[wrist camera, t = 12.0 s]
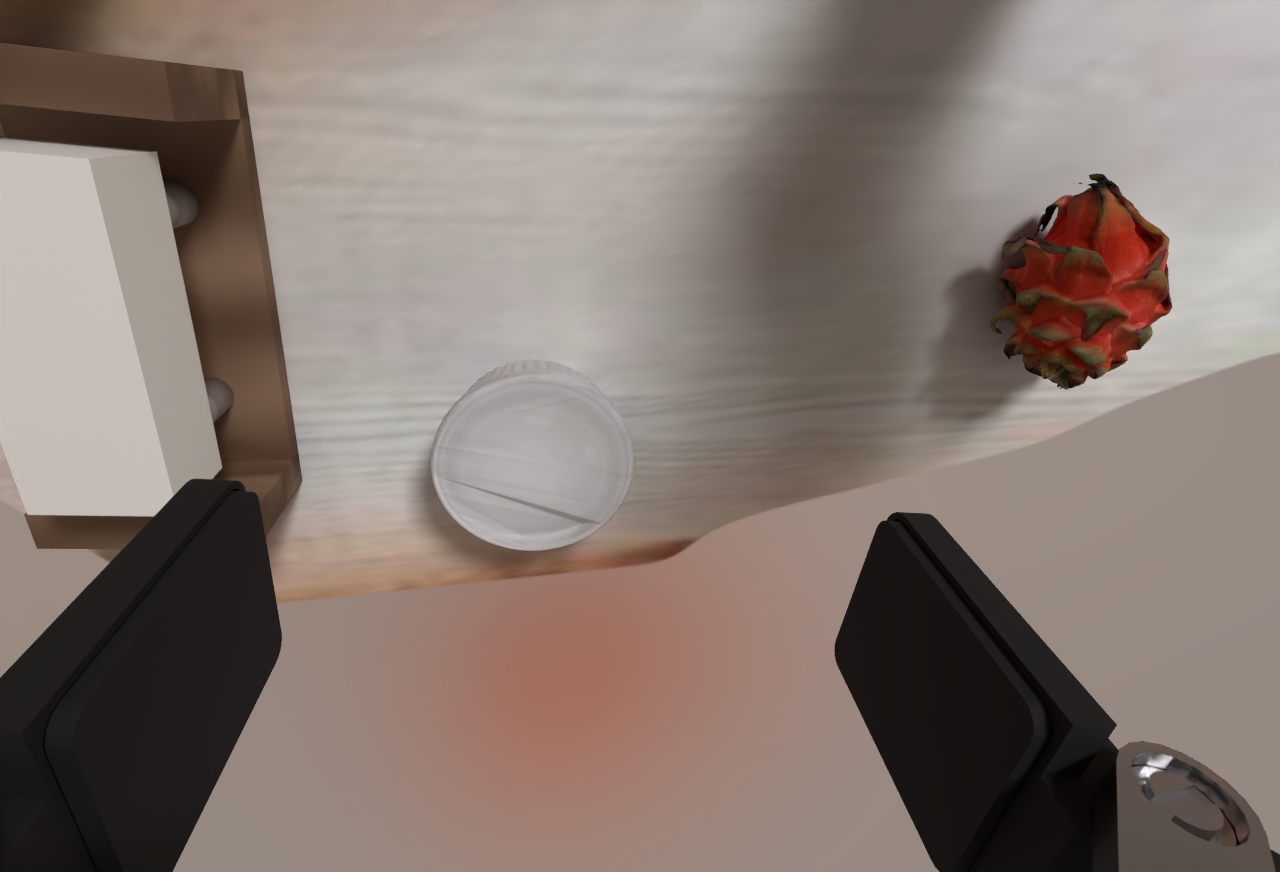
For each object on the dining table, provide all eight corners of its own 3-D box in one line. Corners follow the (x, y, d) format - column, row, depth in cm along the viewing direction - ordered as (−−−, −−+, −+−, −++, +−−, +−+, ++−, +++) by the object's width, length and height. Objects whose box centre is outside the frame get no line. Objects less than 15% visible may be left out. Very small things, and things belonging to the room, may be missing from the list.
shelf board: (-11, 135, 26) (-113, 140, 22) (156, 151, 27) (88, 158, 23) (91, 464, 32) (27, 514, 28) (222, 467, 33) (178, 516, 29)
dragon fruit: (987, 368, 44) (1007, 181, 40) (1142, 375, 40) (1181, 167, 36) (980, 403, 37) (1004, 180, 33) (1166, 415, 33) (1218, 163, 29)
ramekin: (469, 519, 43) (460, 569, 38) (419, 361, 37) (401, 397, 33) (636, 487, 43) (647, 533, 38) (610, 328, 38) (619, 359, 33)
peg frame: (-6, 42, 28) (-160, 23, 22) (242, 71, 30) (163, 61, 24) (120, 476, 38) (37, 548, 32) (302, 480, 40) (257, 549, 33)
